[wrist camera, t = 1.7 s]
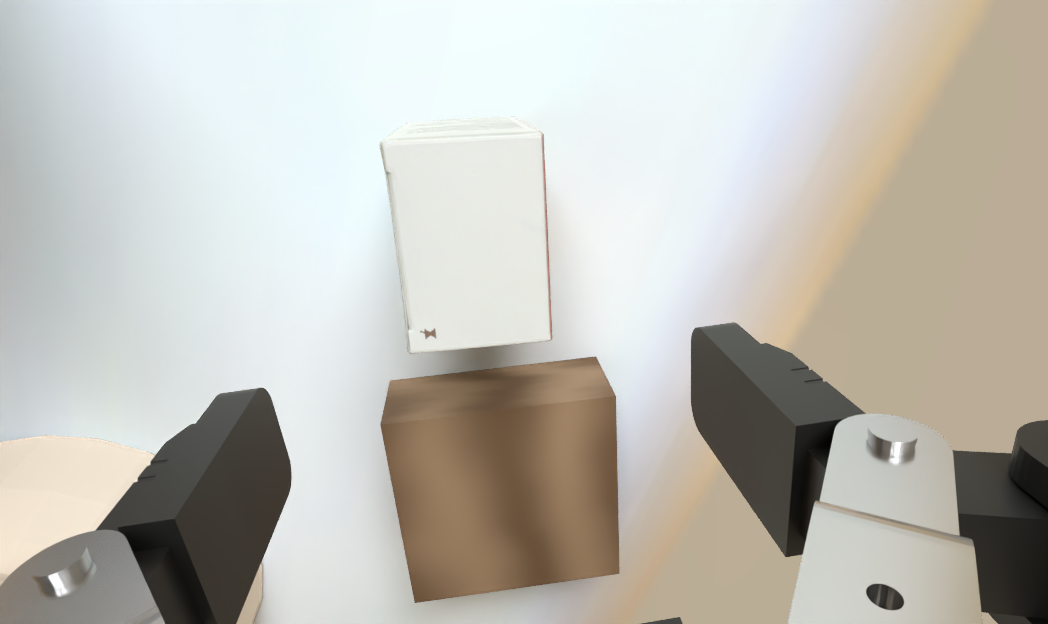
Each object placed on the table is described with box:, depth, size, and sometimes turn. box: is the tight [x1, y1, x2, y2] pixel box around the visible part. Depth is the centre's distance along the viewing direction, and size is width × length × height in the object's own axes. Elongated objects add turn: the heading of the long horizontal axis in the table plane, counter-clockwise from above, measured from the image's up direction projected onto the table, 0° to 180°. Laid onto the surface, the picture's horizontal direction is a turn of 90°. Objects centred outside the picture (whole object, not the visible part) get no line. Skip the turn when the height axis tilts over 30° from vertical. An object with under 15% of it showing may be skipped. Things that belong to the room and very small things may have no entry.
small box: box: [380, 117, 552, 354], centre depth 26 cm, size 8×6×10 cm
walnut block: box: [381, 357, 619, 603], centre depth 35 cm, size 12×12×5 cm
